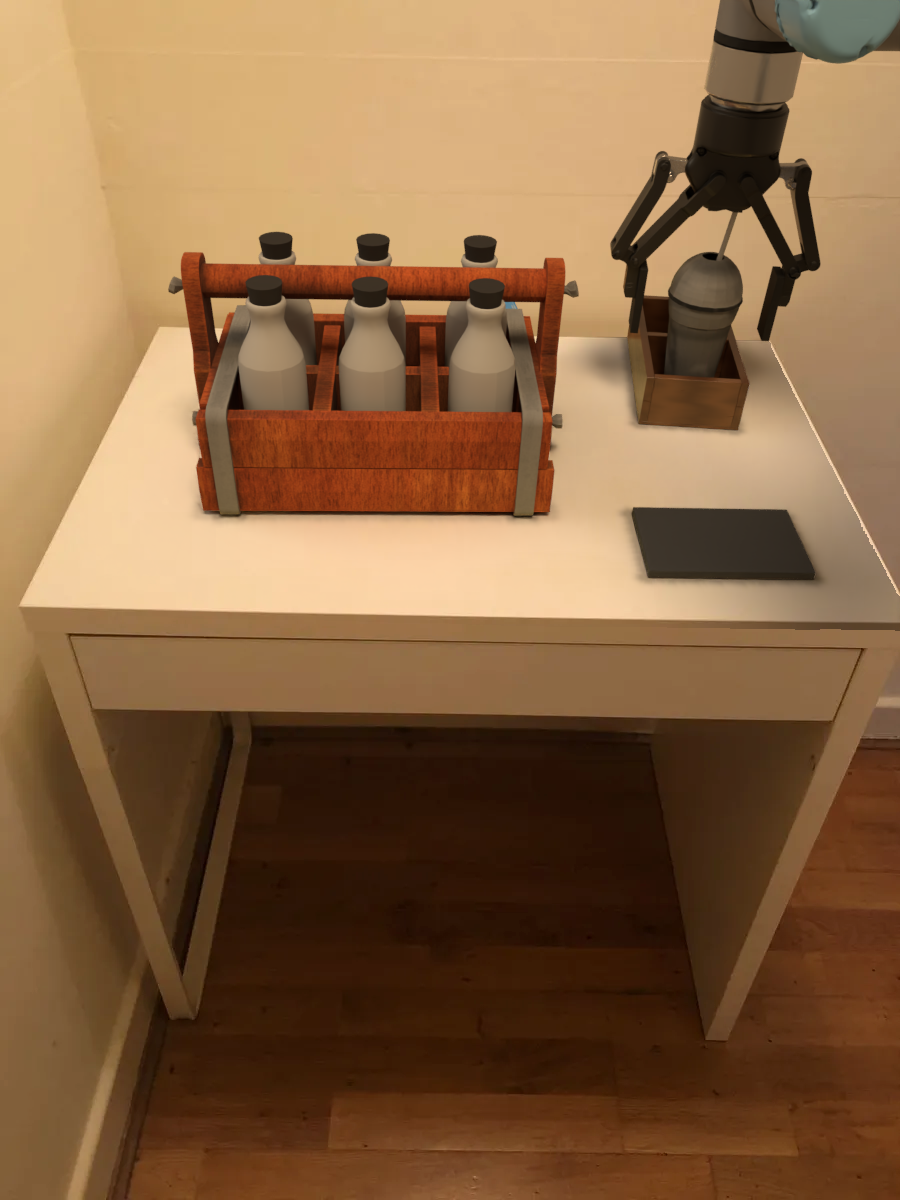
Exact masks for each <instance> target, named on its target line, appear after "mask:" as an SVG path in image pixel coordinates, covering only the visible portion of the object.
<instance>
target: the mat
mask: <svg viewBox="0 0 900 1200" xmlns="http://www.w3.org/2000/svg"><path fill="white" fill-rule="evenodd" d="M631 516H632V520H633V523H634V528H635V531H636V535H637V539H638V543H639V547H640V550H641V554H642V559H643V562H644V566H645V570H646V574H647V578H649V579H651V578H653V579H655V578H656V579H722V580H723V579H724V580H725V579H727V580H728V579H730V580H731V579H732V580H735V579H736V580H794V581H795V580H801V581H802V580H804V581H805V580H806V581H807V580H809V581H811V580H812V581H813V580H815V577H816V574H817V572H816V570H815V567H814V565H813V562H812V561H811V558H810V557H809V554H808V552H807V550H806V548H805V546H804V544H803V541H802V539H801V537H800V535H799V532H798V531H797V528H796V526H795V524H794V523H793V520H792V518H791V515H790V514H789V511H788V510H787V509H780V508H779V509H778V508H777V509H773V508H772V509H771V508H770V509H769V508H766V509H765V508H718V507H717V508H715V507H714V508H713V507H712V508H709V507H708V508H707V507H706V508H705V507H652V506H651V507H643V506H638V507H637V506H634V507H632V511H631Z"/></svg>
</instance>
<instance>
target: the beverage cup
mask: <svg viewBox="0 0 900 1200" xmlns="http://www.w3.org/2000/svg"><path fill="white" fill-rule="evenodd" d="M737 216H738V213H736V212H731V215H730V219H729V220H728V224H727V227H726V230H725V233H724V236H723V239H722V242H721V244H720V248H719V251H718V252H716V251H705V252H704V251H703V252H699V253H697V254H694V255H693V256H691V257H689V258H687V259H686V260H685V261H684V262H683V263H682V264H681V265H680V266H679V268H678V269H677V270H676V272H675V274H674V275H673V278H672V280H671V283H670V286H669V287H668V289H667V297H669V323H668V334H667V344H666V354H665V365H664V375H677V376H693V377H709V378H714V376H715V373H716V370H717V367H718V364H719V361H720V358H721V355H722V351H723V348H724V345H725V342H726V339H727V336H728V333H729V330H730V327H731V326H732V324H733V322H734V321H735V319H736V317H737V314H738V312H739V310H740V307H741V306H742V304H743V303H744V300H743V299H744V298H743V294H744V285H743V277H742V275H741V271H740V269H739V268H738V266H737V264H735V262H734V261H733V260H732V259H731V258H729V257H728V256H727V255H725V252H726V249H727V246H728V243H729V240H730V238H731V234H732V231H733V229H734V226H735V222H736V219H737Z"/></svg>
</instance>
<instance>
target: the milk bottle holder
mask: <svg viewBox="0 0 900 1200" xmlns="http://www.w3.org/2000/svg"><path fill="white" fill-rule="evenodd" d="M293 240H294V238H293V235H291V234H290V233H288V232H285V231H268V232H265V233H262V234H261V235H259V237H258V241H259V245H260V249H261V251H260V252H259V254H258V261H259V263H213V262H212V263H207V262H206V256H205V253H204V252H200V251H184V252H183V253H182V255H181V259H180V277H181V278H179V277H177V276H172V278H171V280H170V282H169V284H168V289H167V290H168V293H169V294H172V295H175V294H177V293H179V292H182V291H183V296H184V303H185V310H186V316H187V321H188V328H189V334H190V335H189V336H190V342H191V348H192V362H193V363H192V365H193V374H194V381H195V387H196V393H197V400H198V406H199V409H198V410H193V411H192V412H191V421H192V426H194V427H196V433H197V440H198V441H197V442H198V446H199V451H200V456H201V457H198V460H197V463H196V467H195V469H196V476H197V484H198V485H197V486H198V491H199V497H200V501H201V507H202V510H203V511H207V512H208V511H216V512H217V511H219V514H220V515H241V514H242V512H244V511H245V512H247V511H248V512H267V511H268V512H451V513H452V512H456V513H457V512H458V513H459V512H463V513H465V512H471V513H472V512H473V513H474V512H477V513H478V512H479V513H480V512H481V513H482V512H483V513H487V512H488V513H490V512H491V513H495V512H496V513H497V512H498V513H506V512H507V513H513V516H533V515H534V513H550V510H551V506H552V505H551V504H552V498H553V491H554V490H553V488H554V478H555V466H554V461H553V459H550V452H551V451H550V450H551V444H552V434H553V428H555V429H563V422H564V418H563V417H564V416H563V414H561V413H556V414H554V415H553V409H554V400H555V393H556V391H555V390H556V382H557V369H558V368H557V367H558V351H559V342H560V341H559V340H560V331H561V323H562V313H563V304H564V295H567V296H568V297H571V298H578V297H579V296H580V294H579V293H580V292H579V286H578V283H577V281H576V280H571V281H568V283H567V284H566V263H565V259H564V258H563V257H544V261H543V267H541V268H540V267H537V268H536V267H497V266H498V264H499V263H498V262H499V260H498V259H499V258H498V257H497V255H496V249H497V244H498V241H497V239H496V238H494V237H492V236H489V235H484V234H483V235H482V234H473V235H469V236H466V237H465V238H464V239H463V248H464V254H462V256H461V259H460V263H461V266H413V265H412V266H409V265H408V266H403V265H399V266H398V265H392V262H393V257H392V255H391V253H390V252H389V250H390V244H391V243H390V242H391V239H390V237H389V236H387V235H386V234H382V233H375V232H371V233H363V234H360V235H358V236H357V237H356V238H355V241H356V246H357V251H358V252H357V253H356V254H355V257H354V261H355V264H356V265H341V264H339V265H338V264H327V265H326V264H296V262H297V255H296V253H295V252H294V250H293ZM212 299H245V302H244V303H245V304H237V305H236V307H235V311H232V312H231V311H229V312H228V313H227V315H226V317H225V321H224V325H223V327H222V330H221V333H220V337H219V339H218V337H217V333H216V326H215V320H214V319H215V317H214V312H213V305H212ZM310 300H326V301H327V300H331V301H336V300H337V301H347V302H346V304H345V307H344V311H343V313H317V312H315V313H314V312H313V307H312V304H311V301H310ZM402 301H403V302H404V301H405V302H408V301H410V302H415V301H416V302H449V305H448V307H447V310H446V314H406V309H405V308H404V305H403V303H402ZM505 302H515V303H539V309H538V319H537V331H536V339H535V334H534V330H533V325H532V319H531V315H524V311H523V308H518V309H506V305H505Z"/></svg>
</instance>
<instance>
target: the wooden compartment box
mask: <svg viewBox="0 0 900 1200" xmlns="http://www.w3.org/2000/svg"><path fill="white" fill-rule="evenodd" d="M668 323H669V296H662V295H646V294H644V299H643V305H642V311H641V317H640V323H639V329H638V333H630V328H629V327H628V329H627V336H626V340H627V347H628V356H629V362H630V370H631V377H632V385H633V391H634V400H635V407H636V414H637V421H638V425H653V426H665V427H666V426H668V427H684V428H698V429H699V428H700V429H714V430H715V429H716V430H727V431H728V430H730V431H738V430H739V427H740V423H741V420H742V415H743V411H744V408H745V404H746V401H747V395H748V392H749V388H750V385H751V384H750V381H749V377H748V373H747V371H746V368H745V364H744V361H743V358H742V355H741V351H740V349H739V345H738V343H737V340H736V339H737V338H736V337H735V332H734V330H733V326H732V325H731V327H730V330H729V333H728V336H727V339H726V342H725V345H724V348H723V351H722V355H721V358H720V361H719V364H718V367H717V370H716V373H715V376H714V378H709V377H693V376H677V375H664V365H665V354H666V344H667V334H668Z"/></svg>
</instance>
